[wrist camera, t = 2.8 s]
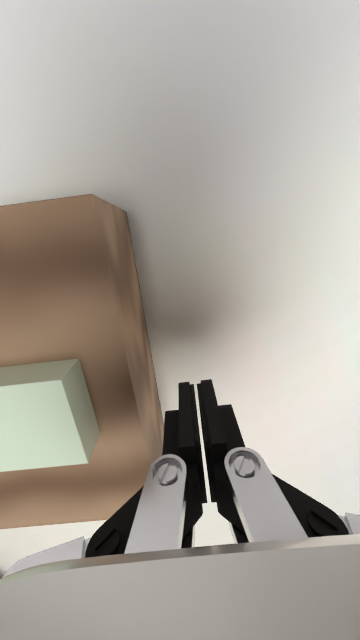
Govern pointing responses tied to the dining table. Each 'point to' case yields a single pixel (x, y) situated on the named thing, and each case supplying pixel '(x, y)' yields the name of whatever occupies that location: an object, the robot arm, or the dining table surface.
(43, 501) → the brown wooden box
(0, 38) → the dining table surface
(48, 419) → the tile
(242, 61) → the dining table surface
